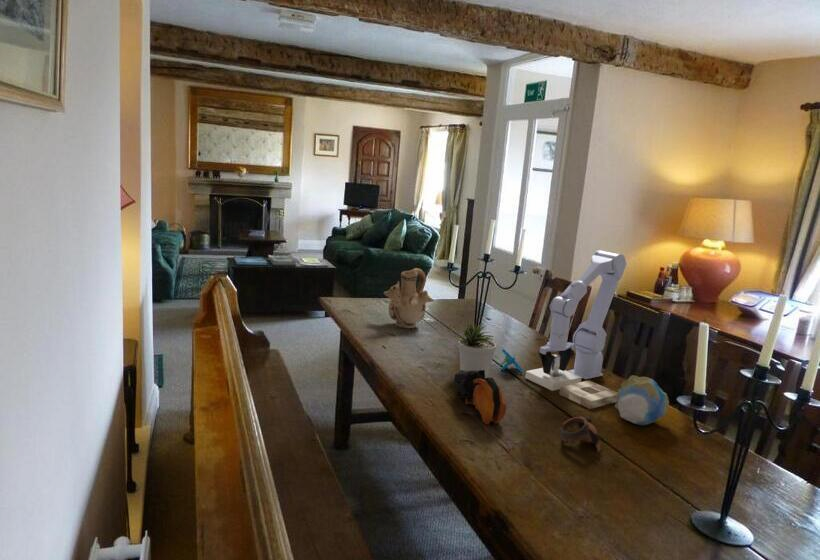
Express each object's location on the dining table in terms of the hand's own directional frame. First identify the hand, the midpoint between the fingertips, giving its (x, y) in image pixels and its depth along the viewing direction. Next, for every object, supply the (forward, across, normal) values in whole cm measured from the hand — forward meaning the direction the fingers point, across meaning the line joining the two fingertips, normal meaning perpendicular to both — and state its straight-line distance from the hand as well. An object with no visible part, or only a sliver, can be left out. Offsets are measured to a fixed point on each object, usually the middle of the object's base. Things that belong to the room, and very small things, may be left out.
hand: (554, 371), depth 188 cm
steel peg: (+3, 0, 0) cm, 3 cm away
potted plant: (+4, +23, -15) cm, 28 cm away
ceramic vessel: (+4, +13, -73) cm, 74 cm away
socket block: (+3, 0, 0) cm, 3 cm away
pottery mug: (+4, +28, +35) cm, 45 cm away
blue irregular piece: (+4, +6, -14) cm, 16 cm away
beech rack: (+3, 0, +15) cm, 15 cm away
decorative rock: (+4, 0, +32) cm, 32 cm away
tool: (+4, +39, +6) cm, 40 cm away
